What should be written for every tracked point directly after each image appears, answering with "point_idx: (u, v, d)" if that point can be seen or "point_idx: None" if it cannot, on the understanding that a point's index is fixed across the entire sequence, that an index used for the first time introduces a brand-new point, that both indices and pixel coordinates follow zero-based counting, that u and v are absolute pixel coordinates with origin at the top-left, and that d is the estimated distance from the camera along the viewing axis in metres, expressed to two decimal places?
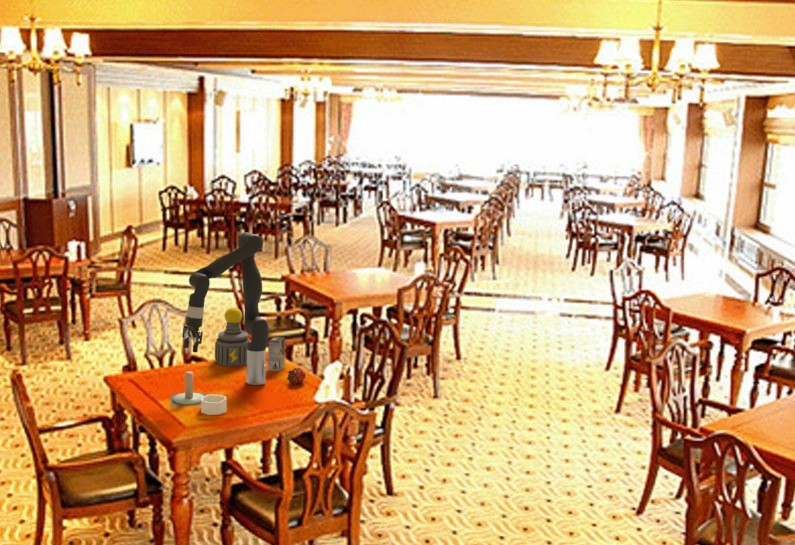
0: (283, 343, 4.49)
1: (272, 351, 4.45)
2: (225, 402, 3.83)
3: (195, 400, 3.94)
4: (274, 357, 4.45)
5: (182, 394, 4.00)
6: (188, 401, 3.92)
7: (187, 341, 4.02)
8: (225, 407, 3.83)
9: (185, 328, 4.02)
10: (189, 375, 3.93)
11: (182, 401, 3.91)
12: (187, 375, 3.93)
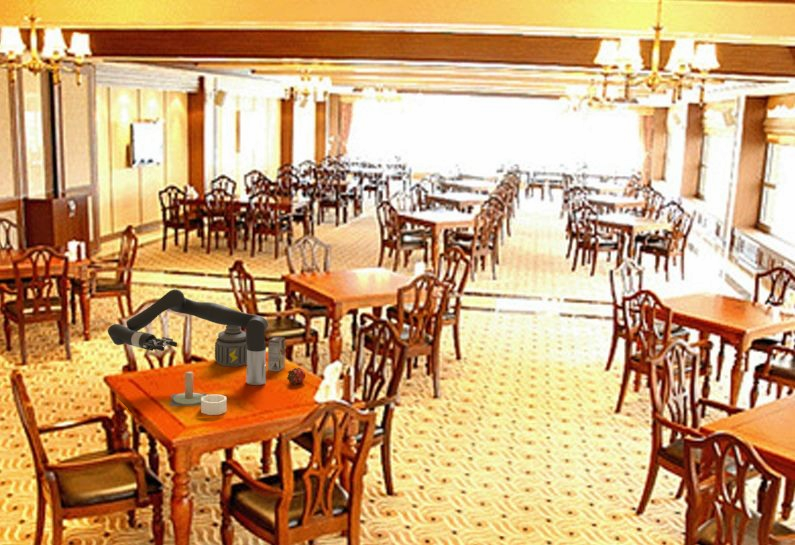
0: (283, 343, 4.49)
1: (272, 351, 4.45)
2: (225, 402, 3.83)
3: (195, 400, 3.94)
4: (274, 357, 4.45)
5: (182, 394, 4.00)
6: (188, 401, 3.92)
7: (170, 343, 4.02)
8: (225, 407, 3.83)
9: (163, 342, 4.06)
10: (189, 375, 3.93)
11: (182, 401, 3.91)
12: (187, 375, 3.93)
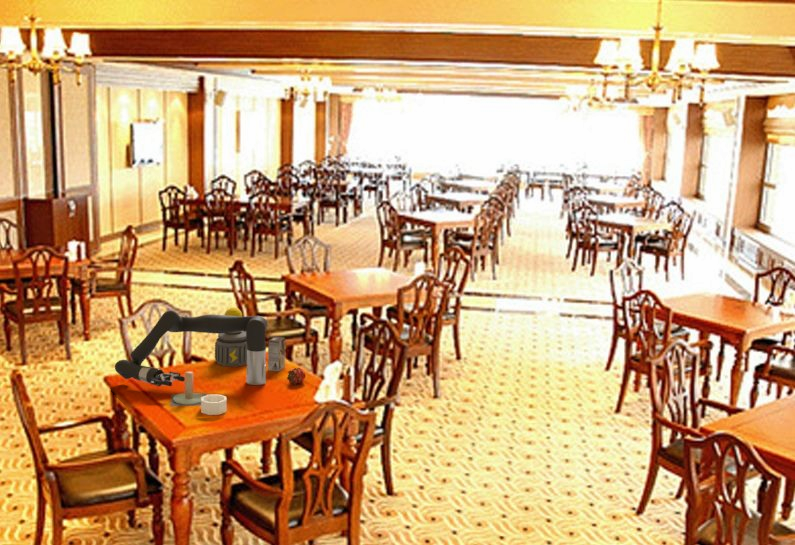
0: (283, 343, 4.49)
1: (272, 351, 4.45)
2: (225, 402, 3.83)
3: (195, 400, 3.94)
4: (274, 357, 4.45)
5: (182, 394, 4.00)
6: (188, 401, 3.92)
7: (178, 378, 4.03)
8: (225, 407, 3.83)
9: None
10: (189, 375, 3.93)
11: (182, 401, 3.91)
12: (187, 375, 3.93)
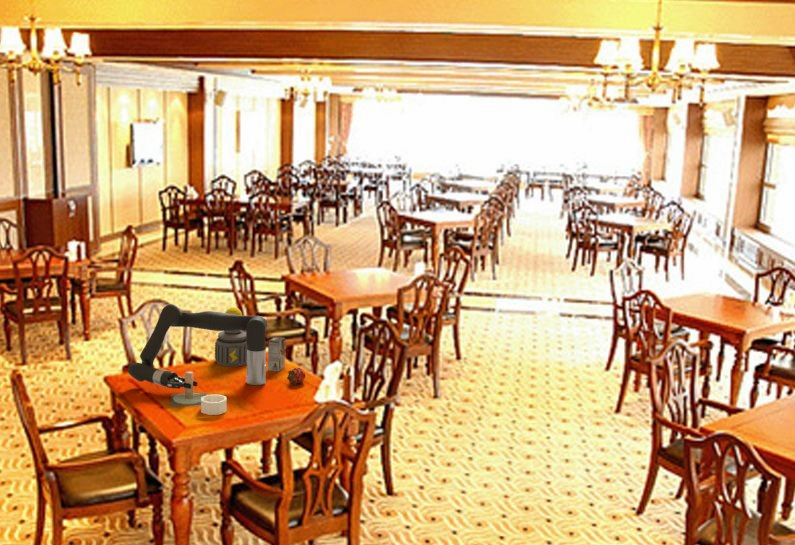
0: (283, 343, 4.49)
1: (272, 351, 4.45)
2: (225, 402, 3.83)
3: (195, 400, 3.93)
4: (274, 357, 4.45)
5: (182, 394, 4.00)
6: (188, 401, 3.92)
7: None
8: (225, 407, 3.83)
9: None
10: (189, 375, 3.93)
11: (182, 401, 3.91)
12: (187, 375, 3.93)
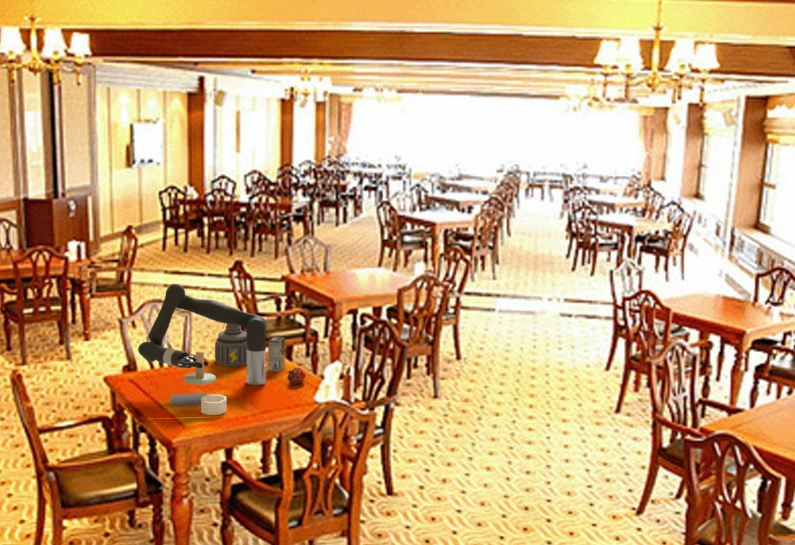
0: (283, 343, 4.49)
1: (272, 351, 4.45)
2: (225, 402, 3.83)
3: (206, 380, 3.86)
4: (274, 357, 4.45)
5: (193, 374, 3.93)
6: (199, 381, 3.84)
7: None
8: (225, 407, 3.83)
9: None
10: (200, 354, 3.85)
11: (193, 381, 3.84)
12: (198, 354, 3.85)
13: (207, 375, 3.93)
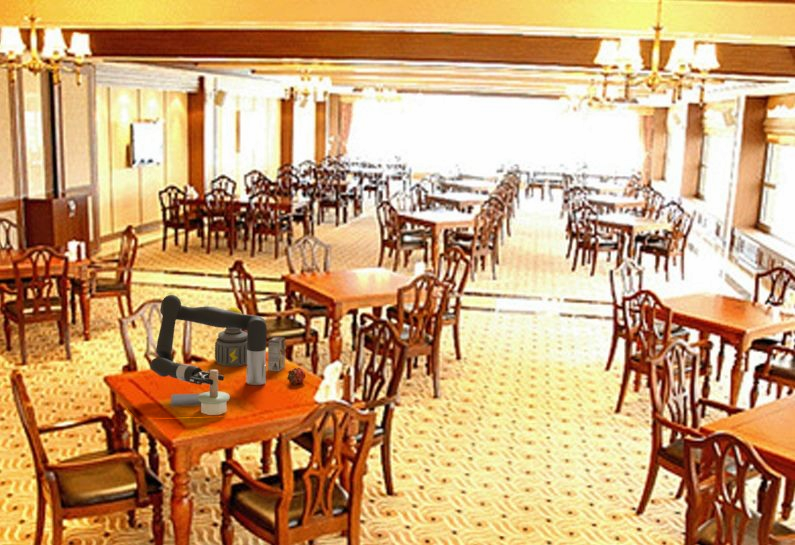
0: (283, 343, 4.49)
1: (272, 351, 4.45)
2: (225, 402, 3.83)
3: (220, 399, 3.81)
4: (274, 357, 4.45)
5: (206, 393, 3.88)
6: (213, 400, 3.79)
7: None
8: (225, 407, 3.83)
9: (209, 375, 3.90)
10: (214, 373, 3.80)
11: (207, 400, 3.78)
12: (212, 373, 3.80)
13: (221, 394, 3.87)
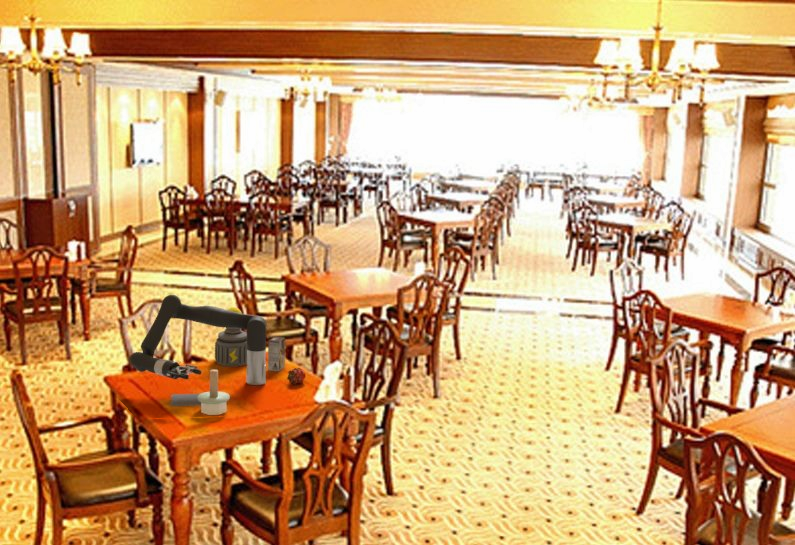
0: (283, 343, 4.49)
1: (272, 351, 4.45)
2: (225, 402, 3.83)
3: (220, 399, 3.81)
4: (274, 357, 4.45)
5: (206, 393, 3.88)
6: (213, 400, 3.79)
7: (194, 371, 3.92)
8: (225, 407, 3.83)
9: (187, 370, 3.96)
10: (214, 373, 3.80)
11: (207, 400, 3.78)
12: (212, 373, 3.80)
13: (221, 394, 3.87)
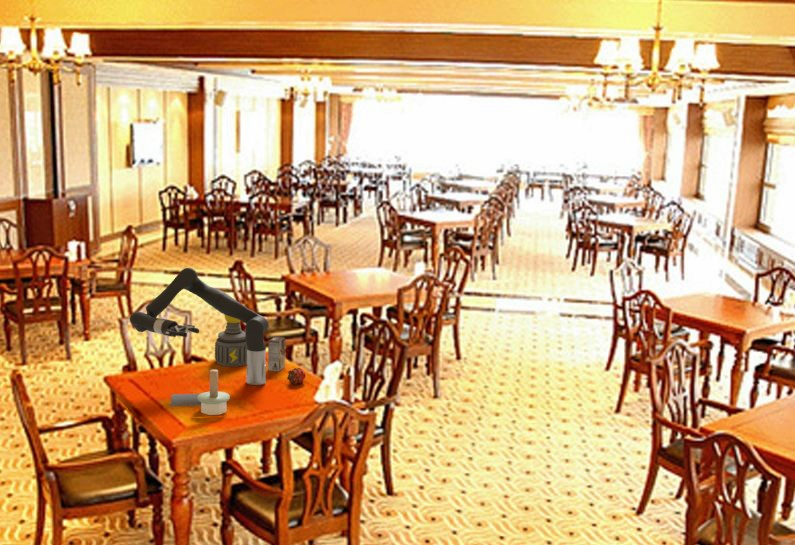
0: (283, 343, 4.49)
1: (272, 351, 4.45)
2: (225, 402, 3.83)
3: (220, 399, 3.81)
4: (274, 357, 4.45)
5: (206, 393, 3.88)
6: (213, 400, 3.79)
7: (192, 329, 4.05)
8: (225, 407, 3.83)
9: (185, 329, 4.09)
10: (214, 373, 3.80)
11: (207, 400, 3.78)
12: (212, 373, 3.80)
13: (221, 394, 3.87)
